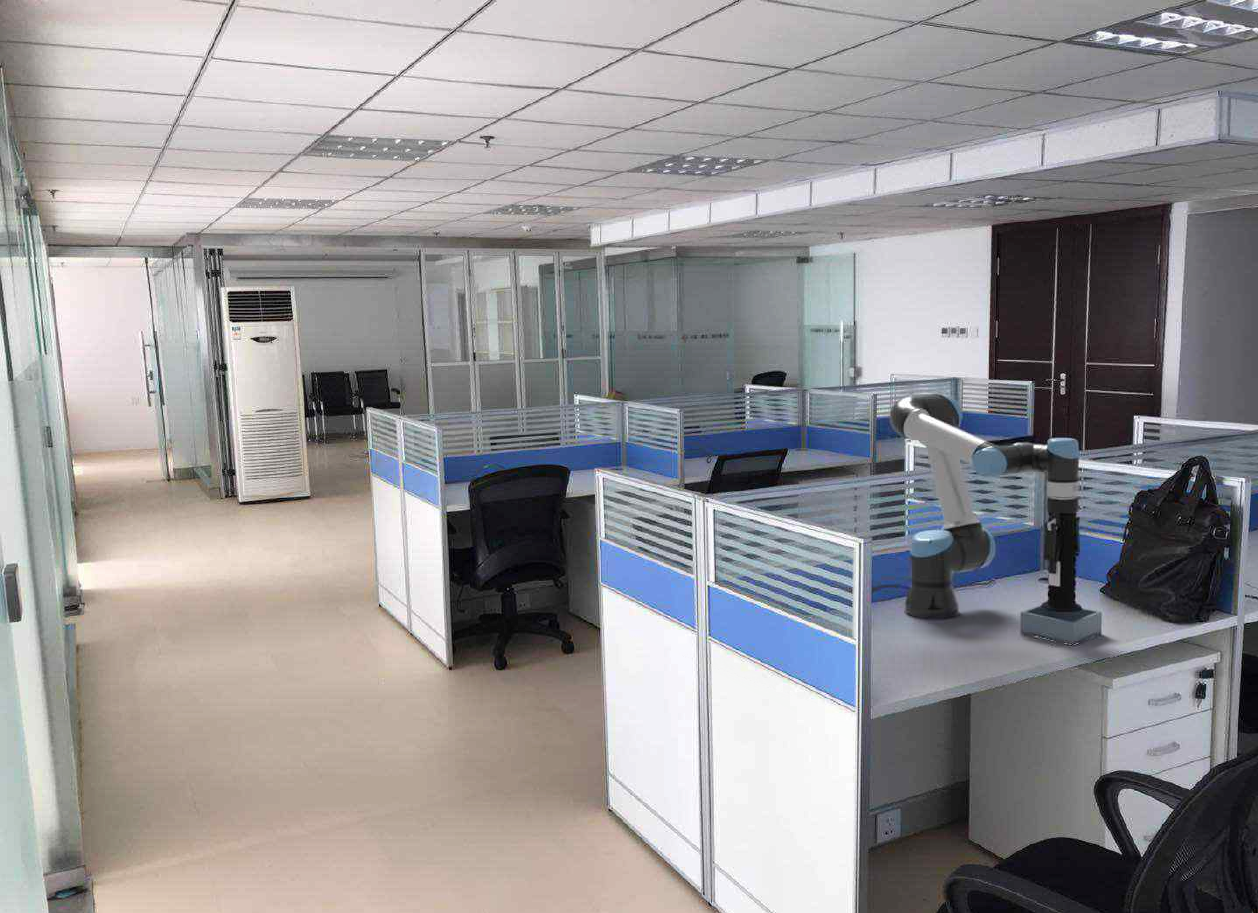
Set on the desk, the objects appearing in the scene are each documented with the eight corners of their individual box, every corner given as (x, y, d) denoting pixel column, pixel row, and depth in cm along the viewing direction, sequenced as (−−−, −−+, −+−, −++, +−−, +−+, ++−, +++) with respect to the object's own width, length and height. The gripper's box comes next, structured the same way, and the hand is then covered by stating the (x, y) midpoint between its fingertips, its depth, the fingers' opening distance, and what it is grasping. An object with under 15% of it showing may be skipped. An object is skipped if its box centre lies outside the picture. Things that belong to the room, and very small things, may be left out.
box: (1020, 633, 260) (1020, 612, 259) (1048, 622, 269) (1049, 601, 268) (1073, 646, 248) (1073, 623, 248) (1101, 633, 257) (1101, 611, 256)
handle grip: (1045, 612, 254) (1086, 612, 252) (1046, 512, 251) (1087, 512, 249) (1037, 601, 263) (1077, 602, 261) (1038, 506, 260) (1078, 505, 258)
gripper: (1056, 503, 245) (1055, 592, 248) (1095, 493, 257) (1094, 578, 260) (1028, 500, 251) (1028, 587, 254) (1068, 491, 263) (1067, 573, 266)
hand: (1061, 582), depth 257 cm, fingers closed on handle grip, 7 cm apart
